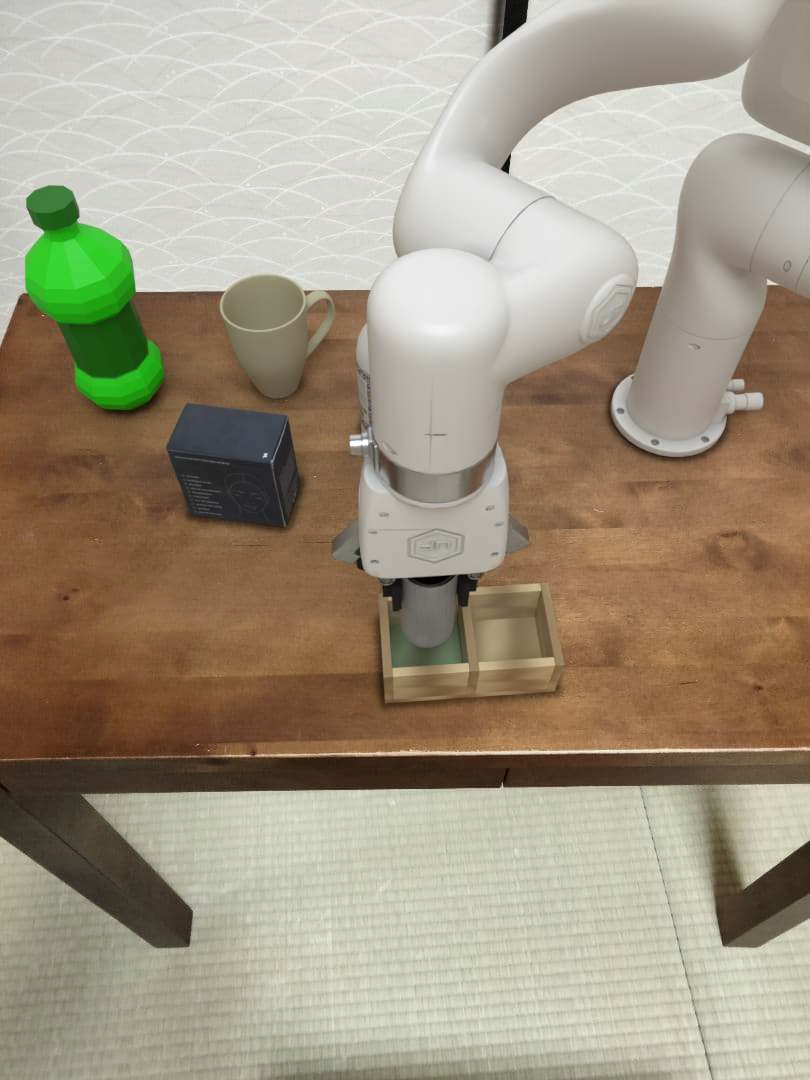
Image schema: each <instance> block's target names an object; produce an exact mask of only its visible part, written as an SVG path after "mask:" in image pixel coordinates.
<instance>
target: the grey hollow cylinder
mask: <svg viewBox="0 0 810 1080" xmlns="http://www.w3.org/2000/svg"><path fill="white" fill-rule="evenodd" d="M458 578H459V574H457V575H443V576H428V577H410V578H401V599H402V609H400V614H401V629H402V632H403V634H404V636H405V638H406V639H407V640H408V641H409V642H410V643H412V644H414V645H416V646H418V647H422V648H433V647H437V646H439V645H441V644H443V643H444V642H446V641H447V640H448V638H449V637H450V635H451V633H452V631H453V626H454V618H455V608H456V598H457V588H458Z"/></svg>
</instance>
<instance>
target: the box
mask: <svg viewBox="0 0 810 1080" xmlns="http://www.w3.org/2000/svg"><path fill="white" fill-rule="evenodd" d="M289 420H290V419H289V415H287V414H281V413H280V414H279V413H273V412H265V411H255V410H250V409H249V410H248V409H240V408H232V407H226V406H225V407H223V406H216V405H207V404H199V403H192V402H191V403H190V402H186V403H185V405H184V407H183V409H182V410H181V413H180V415H179V417H178V419H177V422H176V424H175V426H174V427H173V430H172V433H171V435H170V436H169V439H168V441H167V443H166V446H165V449H166V452H167V454H168V457H169V460H170V462H171V463H170V464H171V465H172V468H173V471H174V473H175V476H176V479H177V482H178V484H179V487H180V489H181V492H182V494H183V498H184V501H185V503H186V506H187V508H188V512H189V513H190V516H194V517H195V516H196V517H204V518H212V519H221V520H226V521H227V520H229V521H234V522H240V523H241V522H242V523H247V524H256V525H263V526H271V527H277V528H286V527H287V525H288V523H289V519H290V518H291V515H292V512H293V508H294V505H295V503H296V499H297V496H298V492H299V487H300V484H301V480H300V474H299V469H298V463H297V459H296V453H295V448H294V442H293V439H292V438H293V436H292V431H291V426H290V425H291V424H290V421H289Z"/></svg>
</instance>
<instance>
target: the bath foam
mask: <svg viewBox="0 0 810 1080" xmlns="http://www.w3.org/2000/svg"><path fill="white" fill-rule="evenodd" d="M355 365H356V366H355V367H356V379H357V389H358V390H357V393H358V406H359V420H360V430H361V432H363V431H368V427H372V409H371V390H370V372H369V354H368V336H367V322H366V323H365V324H364V325H363V327H362V328H361V330H360V332H359V335H358V337H357V341H356V347H355Z"/></svg>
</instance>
